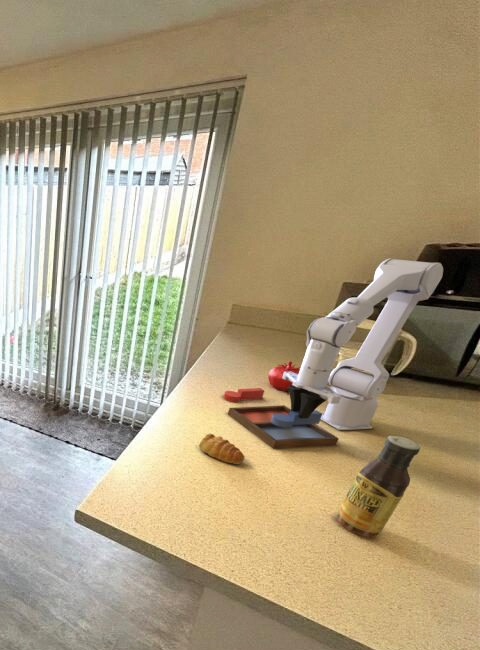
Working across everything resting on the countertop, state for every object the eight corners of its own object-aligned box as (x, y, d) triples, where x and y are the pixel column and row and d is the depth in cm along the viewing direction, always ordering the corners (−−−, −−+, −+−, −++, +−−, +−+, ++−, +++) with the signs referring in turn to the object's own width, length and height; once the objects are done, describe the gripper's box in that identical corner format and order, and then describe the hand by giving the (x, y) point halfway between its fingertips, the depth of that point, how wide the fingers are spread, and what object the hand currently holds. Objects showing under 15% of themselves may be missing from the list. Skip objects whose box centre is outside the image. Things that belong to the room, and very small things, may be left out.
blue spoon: (308, 417, 104) (312, 407, 103) (323, 426, 100) (327, 416, 98) (266, 419, 103) (269, 409, 102) (279, 428, 99) (283, 418, 98)
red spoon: (254, 394, 125) (257, 386, 124) (265, 400, 121) (267, 392, 120) (220, 396, 125) (222, 387, 124) (229, 402, 121) (231, 393, 120)
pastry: (248, 459, 95) (252, 446, 93) (233, 469, 92) (237, 456, 90) (209, 441, 102) (212, 429, 101) (194, 449, 99) (197, 437, 97)
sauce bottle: (326, 516, 78) (364, 431, 70) (355, 513, 78) (396, 428, 70) (359, 542, 72) (404, 452, 64) (390, 539, 72) (439, 450, 64)
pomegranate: (305, 397, 123) (315, 370, 119) (266, 390, 128) (274, 364, 124) (301, 385, 131) (310, 359, 127) (264, 379, 136) (272, 354, 132)
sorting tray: (282, 411, 115) (284, 405, 114) (336, 445, 99) (339, 438, 99) (227, 413, 115) (229, 407, 114) (273, 448, 99) (275, 441, 98)
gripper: (277, 356, 102) (263, 402, 107) (327, 380, 88) (308, 431, 94) (303, 355, 102) (288, 401, 107) (357, 378, 89) (336, 429, 94)
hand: (299, 415), depth 101 cm, fingers closed on blue spoon, 2 cm apart
